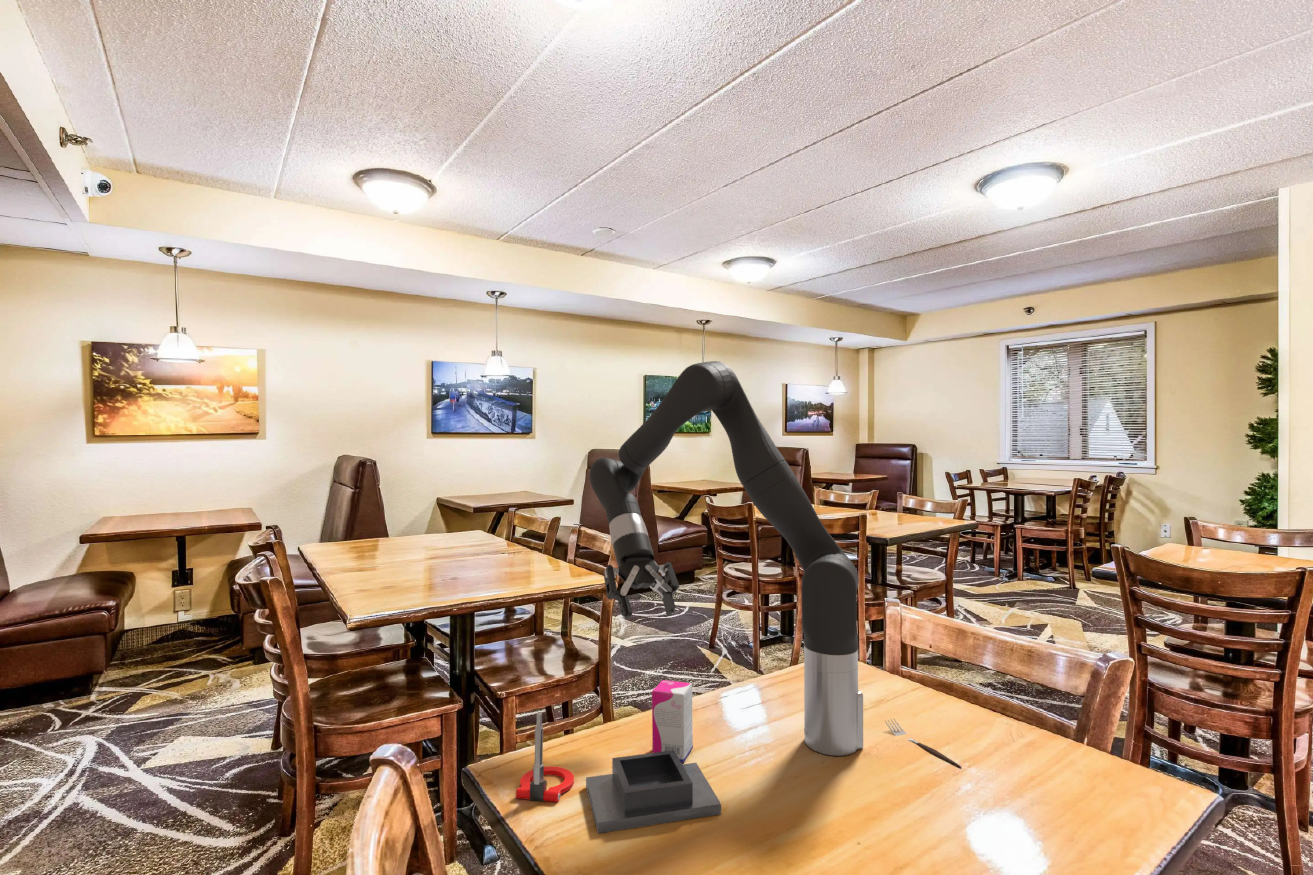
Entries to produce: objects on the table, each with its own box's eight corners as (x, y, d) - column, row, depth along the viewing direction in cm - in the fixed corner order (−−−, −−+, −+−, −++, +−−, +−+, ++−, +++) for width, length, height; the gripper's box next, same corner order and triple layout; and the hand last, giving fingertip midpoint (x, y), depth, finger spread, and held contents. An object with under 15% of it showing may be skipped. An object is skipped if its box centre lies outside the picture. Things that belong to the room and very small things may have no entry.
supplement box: (693, 747, 112) (693, 682, 112) (684, 763, 106) (683, 695, 106) (662, 742, 114) (662, 678, 114) (651, 758, 108) (651, 690, 108)
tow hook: (530, 771, 105) (509, 800, 96) (532, 691, 106) (510, 713, 97) (580, 775, 104) (563, 805, 95) (581, 694, 105) (564, 716, 95)
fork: (955, 772, 104) (955, 760, 104) (883, 731, 119) (883, 720, 119) (967, 768, 105) (966, 756, 105) (894, 728, 120) (894, 717, 120)
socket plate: (696, 771, 104) (696, 744, 104) (721, 814, 92) (721, 783, 92) (586, 786, 100) (585, 758, 100) (597, 833, 88) (597, 800, 88)
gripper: (602, 531, 123) (620, 609, 114) (668, 529, 129) (691, 603, 120) (592, 552, 128) (608, 628, 119) (656, 549, 134) (677, 621, 125)
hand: (650, 615), depth 119 cm, fingers open, 8 cm apart
